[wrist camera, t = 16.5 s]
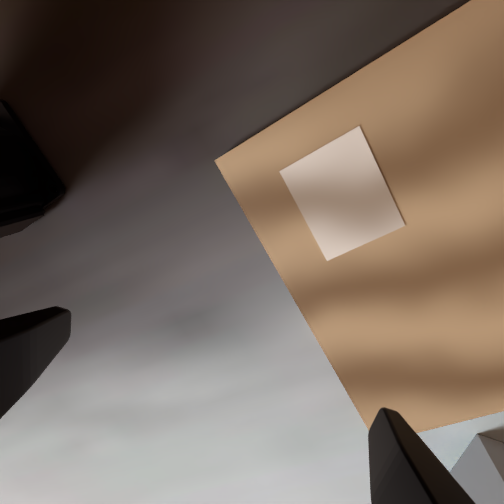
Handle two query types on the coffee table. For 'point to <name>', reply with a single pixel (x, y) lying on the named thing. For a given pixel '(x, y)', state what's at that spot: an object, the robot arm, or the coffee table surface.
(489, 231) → the label board
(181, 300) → the coffee table surface
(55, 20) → the coffee table surface
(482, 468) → the slate post
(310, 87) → the coffee table surface
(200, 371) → the coffee table surface
